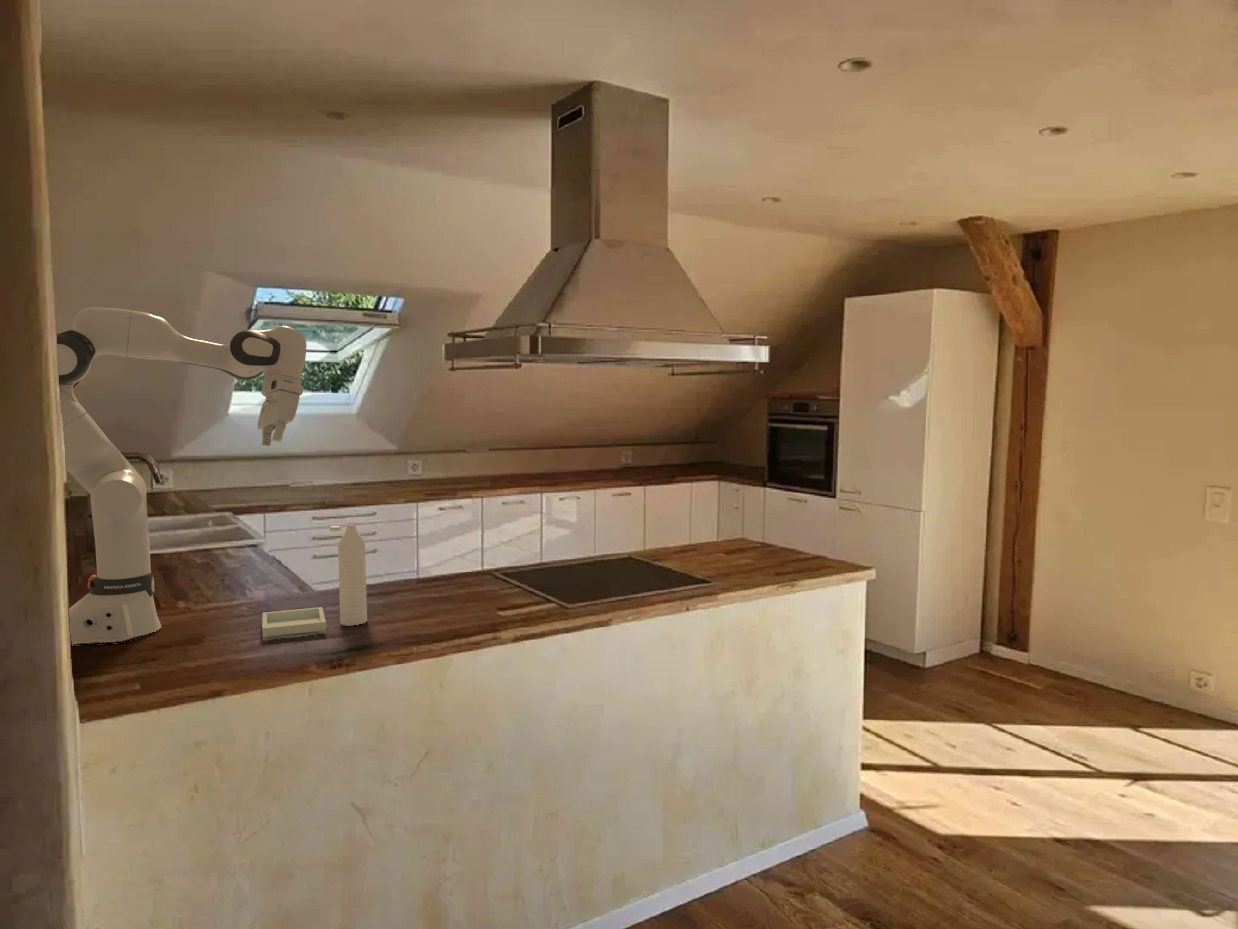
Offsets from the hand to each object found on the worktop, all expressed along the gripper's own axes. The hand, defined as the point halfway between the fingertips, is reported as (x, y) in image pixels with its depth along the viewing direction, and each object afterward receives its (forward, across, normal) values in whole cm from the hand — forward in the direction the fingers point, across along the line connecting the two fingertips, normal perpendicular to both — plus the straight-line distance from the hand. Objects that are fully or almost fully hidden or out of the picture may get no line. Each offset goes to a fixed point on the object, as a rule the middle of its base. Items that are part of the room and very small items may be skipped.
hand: (271, 443), depth 209 cm
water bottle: (+42, +6, +24) cm, 49 cm away
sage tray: (+44, +3, +12) cm, 46 cm away
